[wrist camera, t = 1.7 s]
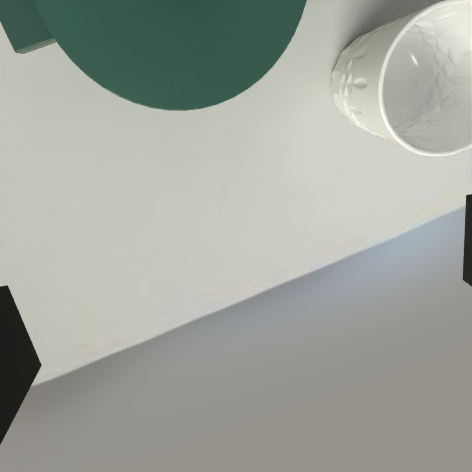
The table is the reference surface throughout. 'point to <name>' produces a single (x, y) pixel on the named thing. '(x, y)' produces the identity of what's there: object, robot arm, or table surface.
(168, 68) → the pot lid
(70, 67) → the table surface
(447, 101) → the white cup
